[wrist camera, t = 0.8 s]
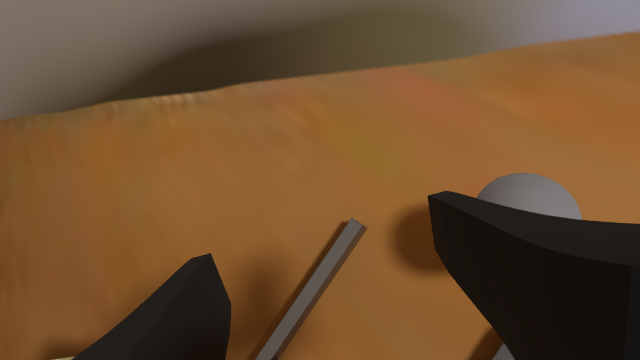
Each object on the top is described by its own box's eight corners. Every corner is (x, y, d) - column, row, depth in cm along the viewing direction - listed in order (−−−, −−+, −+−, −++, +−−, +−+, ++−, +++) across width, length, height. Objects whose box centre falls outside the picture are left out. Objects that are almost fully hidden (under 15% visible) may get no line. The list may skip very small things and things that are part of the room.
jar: (577, 225, 22) (603, 203, 17) (533, 291, 22) (546, 288, 17) (500, 186, 24) (503, 157, 19) (460, 245, 24) (453, 231, 19)
